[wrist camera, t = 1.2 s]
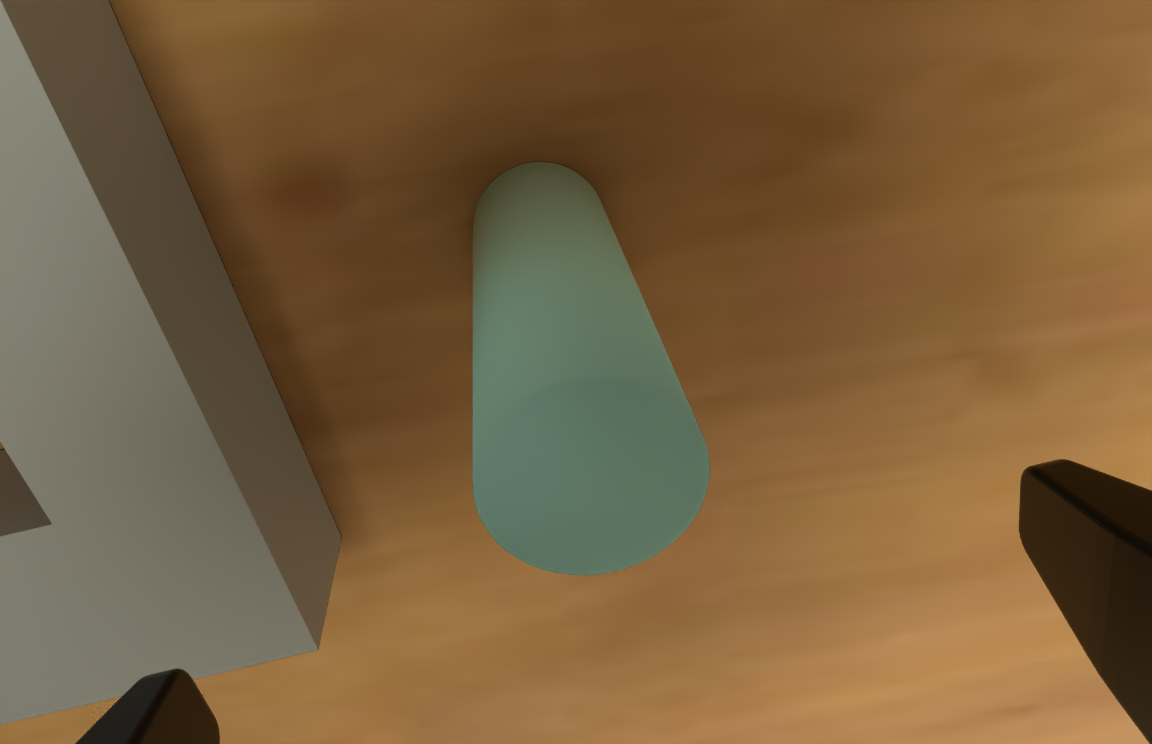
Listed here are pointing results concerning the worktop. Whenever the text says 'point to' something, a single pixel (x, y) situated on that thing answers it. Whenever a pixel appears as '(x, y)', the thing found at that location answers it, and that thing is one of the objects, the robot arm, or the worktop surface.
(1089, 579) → the robot arm
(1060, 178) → the worktop surface
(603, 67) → the worktop surface
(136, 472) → the hole block
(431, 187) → the worktop surface
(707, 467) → the peg
